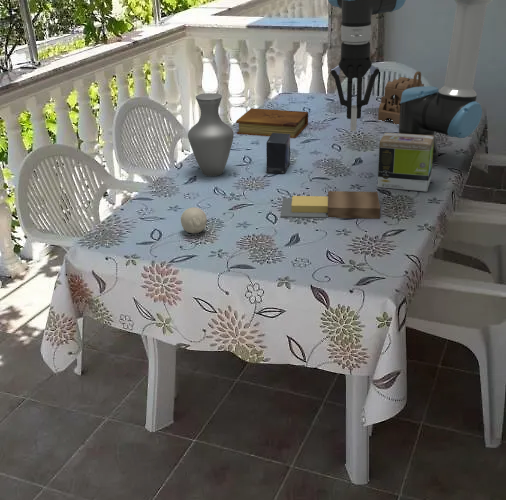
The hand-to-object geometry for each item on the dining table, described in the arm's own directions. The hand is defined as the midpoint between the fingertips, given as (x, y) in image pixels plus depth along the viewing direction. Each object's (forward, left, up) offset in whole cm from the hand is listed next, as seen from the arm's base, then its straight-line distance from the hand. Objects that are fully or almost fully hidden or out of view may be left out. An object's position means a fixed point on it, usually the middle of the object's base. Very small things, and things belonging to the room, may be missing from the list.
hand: (353, 129), depth 189 cm
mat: (+13, +5, -21) cm, 26 cm away
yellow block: (+11, +5, -21) cm, 25 cm away
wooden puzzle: (-23, -90, -22) cm, 95 cm away
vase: (+43, -23, -22) cm, 53 cm away
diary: (+27, -72, -22) cm, 80 cm away
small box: (+22, -28, -22) cm, 42 cm away
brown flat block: (-1, +5, -21) cm, 22 cm away
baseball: (+41, +22, -22) cm, 52 cm away
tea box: (-17, -15, -22) cm, 31 cm away
